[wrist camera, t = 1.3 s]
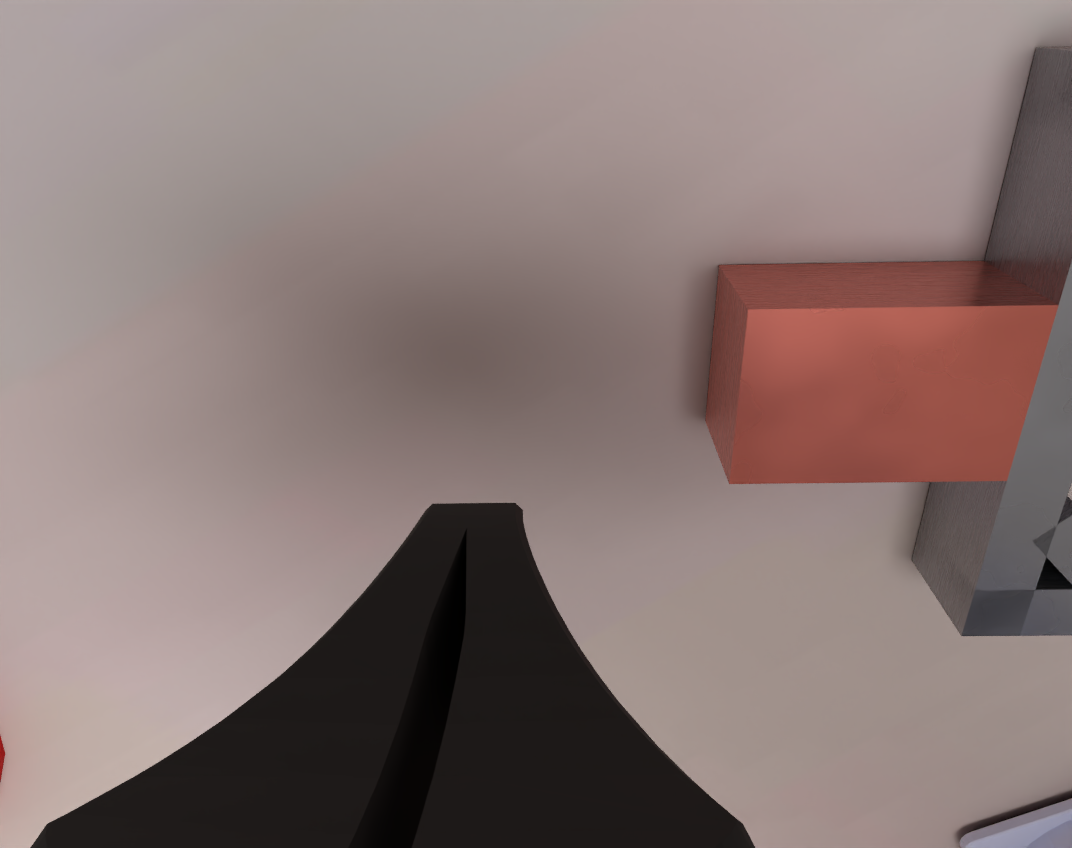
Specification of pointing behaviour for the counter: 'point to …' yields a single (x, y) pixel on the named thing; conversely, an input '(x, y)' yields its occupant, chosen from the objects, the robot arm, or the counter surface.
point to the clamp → (930, 384)
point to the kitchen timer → (1, 757)
